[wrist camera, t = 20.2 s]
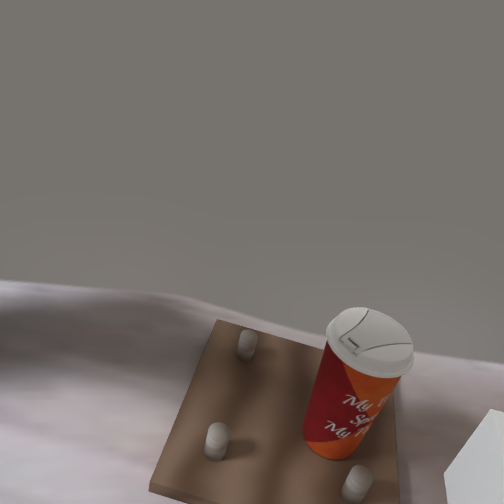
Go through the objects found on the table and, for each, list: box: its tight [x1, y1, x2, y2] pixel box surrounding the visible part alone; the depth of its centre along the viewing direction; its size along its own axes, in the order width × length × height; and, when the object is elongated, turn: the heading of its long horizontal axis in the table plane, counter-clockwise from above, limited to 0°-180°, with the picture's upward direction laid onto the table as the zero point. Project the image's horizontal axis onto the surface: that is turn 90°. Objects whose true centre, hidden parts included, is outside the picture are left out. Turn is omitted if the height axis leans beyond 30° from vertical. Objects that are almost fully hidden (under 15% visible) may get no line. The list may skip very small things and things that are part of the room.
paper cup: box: [302, 307, 414, 460], centre depth 44 cm, size 8×8×14 cm
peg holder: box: [149, 319, 400, 504], centre depth 49 cm, size 22×22×4 cm
